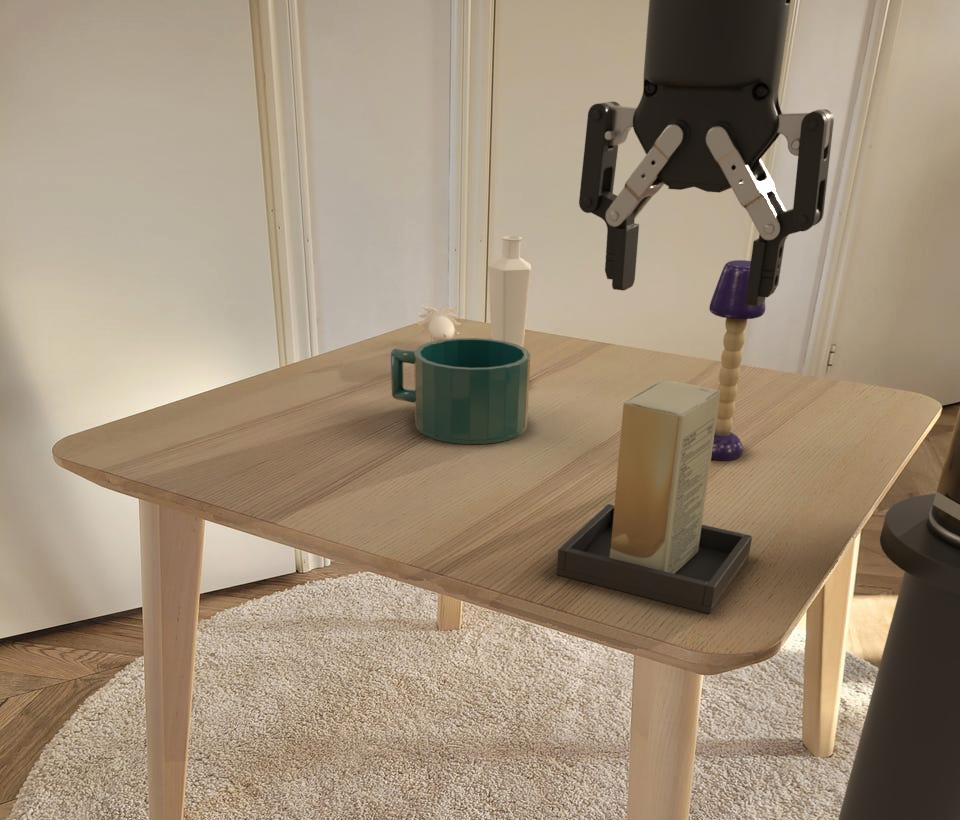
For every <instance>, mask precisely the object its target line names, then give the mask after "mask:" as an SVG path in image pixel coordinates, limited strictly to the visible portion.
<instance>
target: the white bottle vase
mask: <svg viewBox="0 0 960 820" xmlns="http://www.w3.org/2000/svg"><path fill="white" fill-rule="evenodd" d="M500 238H501V240H502V248H501V249H502V251H501V254H502V255H501V258H499V259H497V260H495V261H494V262H493V261H492V262H491V263H490V264H488V265H487V266H488V268H487V271H488V272H487V273H488V291H489V312H490V313H489V314H490V317H489V318H490V334H491V335H490V336H491V338H490V339H493V340H499V341H506V342H509V343H513V344H516V345H519V346H521V347H523V348H524V343H525V332H526V324H527V323H526V322H527V313H528V302H529V295H530V294H529V293H530V284H531V273H532V264H531V263H530V262H528V261H527V260H525V259H523V258H522V257H521V243H522V242H521V241H522V240H523V237H522V236H518V235H517V236H516V235H505V236H501V237H500Z"/></svg>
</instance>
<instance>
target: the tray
mask: <svg viewBox="0 0 960 820" xmlns="http://www.w3.org/2000/svg"><path fill="white" fill-rule="evenodd" d="M614 506H615V504H610V503H607V504H606V505H605V506H603V508H602V509H601V510H600V511H598V512H597V513H596V514H595V515H594V516H593V517H592V518H591V519H589V521H587V522H586V523H585V524H584V525H583V526H582V527H581V528H580V529H579V530H577V532H575V533H574V534H573V535H572V536H571V537H570V538H569V539H568V540H567V541H566V542H565V543H564V544H563V545H562V546H560V547H559V548H558V549H557V561H556V562H557V563H556V575H557V576H560V577H565V578H569V579H572V580H577V581H581V582H585V583H587V584H592V585H597V586H600V587H604V588H608V589H613V590H616V591H619V592H624V593H627V594H632V595H634V596H640V597H643V598H647V599H651V600H655V601H659V602H662V603H667V604H670V605H674V606H678V607H681V608H686V609H690V610H694V611H697V612H701V613H705V614H712V612H713V610H715V608H716V606H717V605H718V603H719V602H720V601H721V599H723V596H724V595H725V594H726V592H727V591H728V589H729V588H730V586H731V585H732V584H733V582H734V580H735V579H736V578H737V576H738V575H739V573H740V572H741V571H742V569H743V568H744V566H745V565H746V563H747V562H749V557H750V551H751V545H752V541H753V540H752V539H753V535H750V534H746V533H745V534H744V533H742V532H737V531H732V530H727V529H725V528H724V529H723V528H719V527H714V526H711V525H706V524H702V527H701V534H700V541H699V549H698V552H697V553H696V554H695V555H694V556H693V557H692V558H691V559H690V560H689V561H688V562H687V563H686V564H685V565H683V566H682V567H681V568H680V569H679V570H678V571H677V572H676V573H674V574H673V573H669V572H665V571H661V570H657V569H653V568H649V567H645V566H640V565H636V564H632V563H628V562H624V561H620V560H616V559H612V558H610V549H611V539H612V528H613V517H614Z"/></svg>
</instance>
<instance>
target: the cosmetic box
mask: <svg viewBox="0 0 960 820" xmlns="http://www.w3.org/2000/svg"><path fill="white" fill-rule="evenodd" d="M719 398H720V391H719V390H717V389H714V388H709V387H705V386H699V385H694V384H690V383H686V382H680V381H675V380H670V379H662V380H660V381H658V382H656V383H654V384H652V385H650V386H649V387H646V388H645V389H643V390H642V391H639V392H638V393H636V394H634V395H633V396H632V397H630V398H629V399H627V400H624V401H623V407H622V418H621V428H620V439H619V452H618V463H617V475H616V483H615V484H616V486H615V496H614V517H613V528H612V539H611V549H610V558H612V559H616V560H620V561H624V562H628V563H632V564H636V565H640V566H645V567H649V568H653V569H657V570H661V571H665V572H669V573H673V574H674V573H676V572H677V571H678V570H679V569H680V568H681V567H682V566H683V565H685V564H686V563H687V562H688V561H689V560H690V559H691V558H692V557H693V556H694V555H695V554H696V553H697V552H698V549H699V541H700V534H701V527H702V525H703V520H704V511H705V504H706V498H707V497H706V496H707V489H708V483H709V476H710V468H711V463H712V462H711V460H712V459H711V456H712V449H713V442H714V434H715V427H716V420H717V413H718V406H719Z"/></svg>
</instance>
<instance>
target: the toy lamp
mask: <svg viewBox="0 0 960 820" xmlns="http://www.w3.org/2000/svg"><path fill="white" fill-rule="evenodd" d="M750 264H751V260H745V259H744V260H743V259H735V260H730V261H727V262H726V263H725V264H724V266H723V267H722V270H721V273H720V276H719V278H718V281H717V283H716V287H715V289H714V292H713V294H712V297H711V300H710V303H709V307H708V308H709V312H710V313H711V314H713V315H714V316H716V317H720V318H725V321H724V322H725V330H726V331H725V333H724V336H723V340H722V341H723V342H722V343H723V347H724V349H723V350H722V352H721V356H720V357H721V358H720V360H721V361H720V362H721V367H720V369H719V373H718V381H719V383H718V386H717V388H716V390H719V391H720V398H719V406H718V413H717V420H716V427H715V434H714V442H713V449H712V456H711V460H717V461H733V460H736V459H739V458H740V457H742V456H743V454H744V448H743V443H742V441H741V439H740V437H739V436H738V435H736V434H735V433H733V432H732V430H733V425H734V422H733V418H732V417H733V416H734V414H735V412H736V411H735V409H736V404H735V399H737V396H738V385H737V384H738V382H739V380H740V377H741V370H740V366H741V364H742V361H743V352H742V349H743V348H744V345H745V341H746V340H745V339H746V338H745V332H744V331H745V330H746V328H747V325H748V320H755V319H758V318H760V317H761V316H764V315H765V312H766V300H765V301H764V302H763V303H762V304H761V305H759V306H758V307H756V306H748V305H746V293H747V286H748V279H749V271H750Z"/></svg>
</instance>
